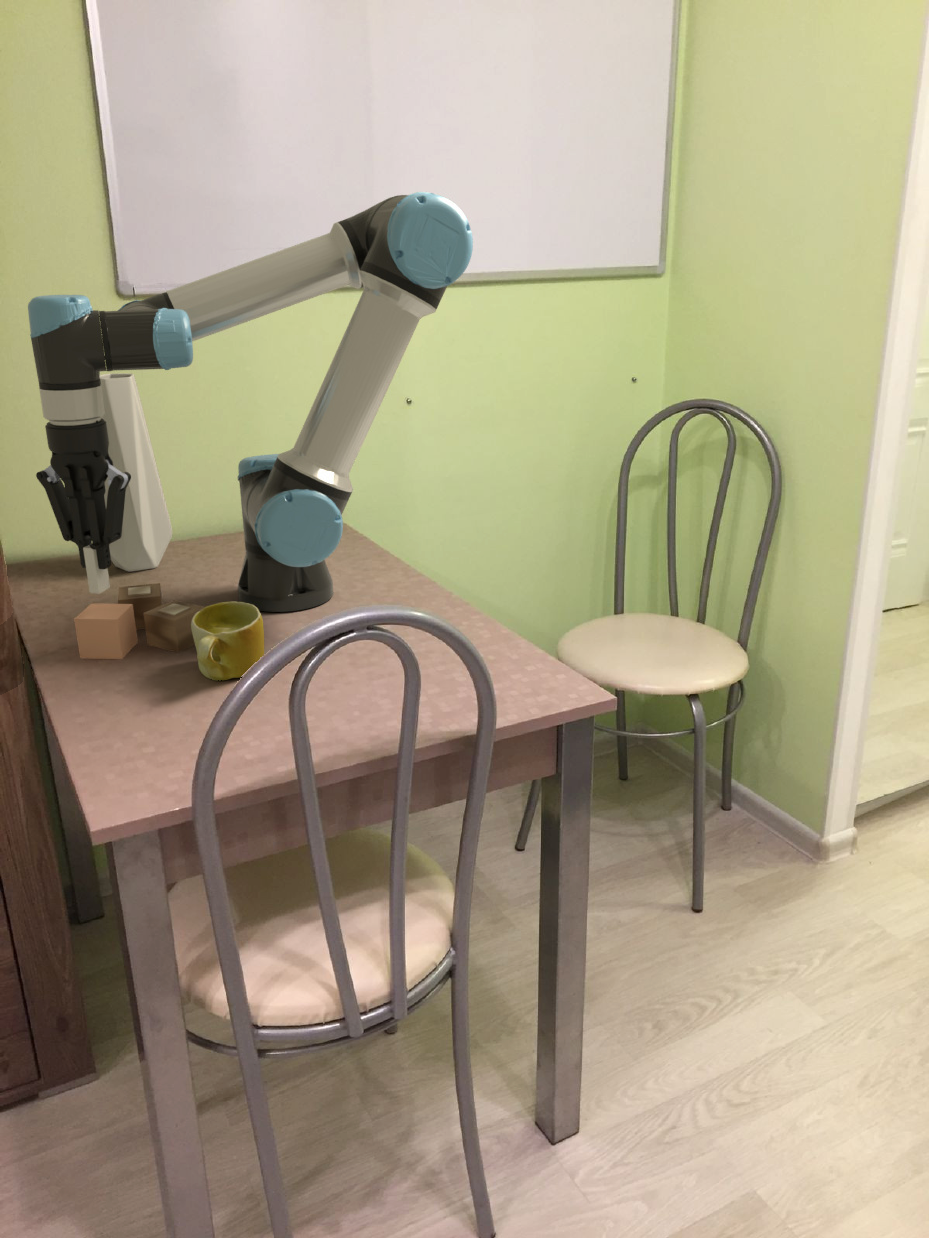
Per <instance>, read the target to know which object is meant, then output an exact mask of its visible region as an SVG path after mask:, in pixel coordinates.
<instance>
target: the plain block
mask: <svg viewBox="0 0 929 1238" xmlns="http://www.w3.org/2000/svg"><path fill="white" fill-rule="evenodd" d="M73 622H74V625H75V626H74V627H75V634H76V639H77V646H78V653H79V657H80V659H94V660H95V659H97V660H98V659H100V660H101V659H104V660H105V659H106V660H108V659H109V660H116V659H117V660H123V659H124V658H125V657H126V656H127V655H128V654H129V652H130V651H131V650H133V648H134V647H135V646H136V645H137V644H138V643H139V642H138V641H139V640H138V633H137V629H136V625H135V618H134V610H133V604H118V603H98V602H97V603H90V604H89V605H88V606H86V608H85V609H83V610H82V611H81V612H80V613H79V614H77V615H76V616H75V617H74V618H73Z"/></svg>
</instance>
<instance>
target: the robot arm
mask: <svg viewBox="0 0 929 1238" xmlns="http://www.w3.org/2000/svg"><path fill="white" fill-rule="evenodd" d="M473 240H474V239H473V232H472V230H471V225H470V223H469V220H468V219H467V216H466V215H465V214H464V212H463V210H462V209H461V208H460V207H459V206H458V205H457V204H456V203H455V202H453V201H452V200H450V199H448V198H446V197H444V196H442V195H439V194H435V193H433V192H427V191H419V192H418V191H417V192H414V193H411V194H400V195H394V196H392V197H388V198H386V199H384V200H383V201H380V202H378V203H375V204H374V205H372V206H371V207H369V208H367V209H365V210H363V211H361V212H358V213H356V214H355V215H352V216H350V217H348V218H345V219H343V220H340V221H337V222H335V223H333V225H332V228H331V229H330V232H328V233H326V234H322V235H319V236H317V237H315V238H314V237H313V238H312V239H309V240H306V241H304V242H301V243H298V244H295V245H291V246H290V247H287V248H284V249H281V250H278V251H276V252H272V253H270V254H267V255H264V256H261V257H259V258H255V259H254V260H253V259H252V260H250V261H247V262H244V263H242V264H239V265H237V266H233V267H230V268H227V269H224V270H222V271H219V272H216V273H214V274H211V275H208V276H206V277H205V276H204V277H203V278H200V279H198V280H194V281H191V282H189V283H185V284H183V285H180V286H177V287H175V288H172V289H169V290H166V291H165V292H162V293H159V294H156V295H152V296H150V297H148V298H145V299H141V300H140V299H135V300H132V301H129V302H127V303H125V304H123V305H121V307H120V308H119V309H118V310H108V311H107V310H106V311H105V310H99V309H97V310H94V309H93V306H92V304H91V300H90V299H89V297H87V295H84V294H50V295H49V294H48V295H39V296H34V297H33V298H31V300H29V302H28V304H27V311H28V322H29V330H30V334H29V335H30V339H31V341H30V342H31V345H32V346H31V347H32V352H33V358H34V359H33V360H34V363H35V371H36V376H37V382H38V389H39V394H40V395H39V396H40V400H41V401H40V402H41V403H40V404H41V409H42V417H43V418H44V419H45V420H46V421H48V422H47V423H46V424H45V426H44V427H45V433H46V434H45V435H46V440H47V445H48V450H49V451H50V452H51V457H50V460H49V461H50V462H49V464H50V465H49V466H47V467H46V468H45V469H42V470H40V471H38V472H37V473H36V474H35V477H36V478H37V480H38V482H39V484H41V486H42V487H43V488H44V490H45V493H46V496H47V499H48V501H49V504H50V507H51V509H52V512H53V514H54V517H55V520H56V522H57V525H58V529H59V530H60V532H61V533H60V534H61V535H62V538H63V540H64V541H66V542H73V543H75V545H76V546H77V548H78V554H79V560H80V565H81V567H82V569H85V571H86V577H87V583H88V590H89V593H90V594H96V595H97V594H99V595H101V593H104V592H105V591H106V590H108V589H110V588H111V583H110V576H109V569H108V568H111V566H112V560H111V556H110V549H109V544H111V543H113V542H114V541H116V540H118V539H120V538H121V536H122V525H123V514H124V503H125V493H126V488H127V486H128V484H129V482H130V480H131V475H130V474H129V473H128V472H125V473H122V472H120V471H119V470H118V469H116V468H115V467H113V461H112V459H111V458H110V456H109V454H108V447H109V439H108V432H107V424H106V421H104V419H102V418H100V417H102V416H103V415H104V414H105V411H104V404H103V396H102V389H101V380H100V375H101V373H100V372H115V371H141V370H165V371H169V370H171V369H179V368H187V367H190V366H191V364H192V363H193V360H194V349H193V348H194V347H193V346H194V345H193V342H195V341H197V340H200V339H203V338H207V337H209V336H212V335H214V334H216V333H220V332H223V331H226V330H228V329H230V328H234V327H236V326H239V325H242V324H244V323H248V322H250V321H252V320H256V319H258V318H260V317H264V316H267V315H269V314H270V315H271V313H275V312H277V311H281V310H283V309H286V308H289V307H291V306H294V305H297V304H300V303H303V302H305V301H308V300H311V299H313V298H316V297H319V296H322V295H325V294H327V293H330V292H333V291H335V290H339V289H341V288H344V287H346V286H347V287H348V286H350V287H352V288H355V289H356V290H359V289H362V288H363V291H362V293H361V296H360V298H359V300H358V302H357V304H356V306H355V308H354V309H355V310H354V311H353V313H352V316H351V318H350V319H349V322H348V325H347V327H346V328H345V331H344V334H343V336H342V337H341V340H340V342H339V345H338V348H337V349H336V351H335V353H334V356H333V358H332V361H331V363H330V365H329V368H328V370H327V371H326V374H325V377H324V379H323V381H322V383H321V385H320V387H319V390H318V392H317V393H316V396H315V398H314V401H313V403H312V405H311V407H310V410H309V413H308V414H307V417H306V419H305V421H304V423H303V425H302V428H301V430H300V431H299V435H298V436H297V439H296V441H295V443H294V446H293V447H292V448H291V449H290V450H285V451H284V452H281V453H272V454H262V455H254V456H249V457H245V458H243V459H241V460H240V461H239V462H238V468H237V469H238V475H237V481H239V489H240V490H239V491H240V493H239V494H240V503H241V514H242V515H241V516H242V527H243V536H244V537H243V538H244V548H245V555H244V559H243V564H242V567H241V571H240V575H239V579H238V584H237V593H238V594H237V597H238V602H244V603H249V604H252V605H254V606H256V607H257V608H258V610H259V612H260V611H261V612H267V613H270V612H272V613H278V612H279V613H286V612H287V613H288V612H297V611H303V610H307V609H311V608H315V607H318V606H320V605H322V604H324V603H327V602H328V601H329V600H330V599H332V598H333V595H334V584H333V583H334V581H333V578H332V575H331V573H330V570H329V567H328V565H327V564H326V559H327V558H329V557H330V556H331V555H332V554H333V553H334V552H335V550H336V549H337V548H338V546H339V544H340V542H341V540H342V539H341V538H342V536H343V531H344V530H343V529H344V527H343V526H344V521H343V513H344V511H345V509H346V506H347V504H348V502H349V500H350V498H351V496H352V494H353V491H354V487H353V485H352V482H351V479H350V472H351V470H352V468H353V467H354V463H355V461H356V459H357V457H358V455H359V452H360V450H361V449H362V446H363V444H364V442H365V440H366V438H367V435H368V433H369V431H370V429H371V426H372V425H373V422H374V420H375V418H376V415H377V413H378V412H379V409H380V407H381V405H382V403H383V401H384V398H385V397H386V394H387V392H388V389H389V387H390V385H391V383H392V381H393V378H394V377H395V374H396V372H397V370H398V368H399V366H400V364H401V361H402V359H403V357H404V354H405V353H406V350H407V348H408V346H409V343H410V341H411V339H412V337H413V335H414V333H415V331H416V329H417V327H418V325H419V322H420V321H421V319H422V318H425V317H426V316H429V315H431V314H434V313H436V311H437V309H438V308H439V305H440V302H441V300H442V299H443V297H444V294H445V292H446V290H447V288H448V286H450V285H452V284H453V283H455V282H456V281H457V280H458V279H459V278H460V277H461V276H462V275H463V274H464V272H465V271H466V270H467V268H468V266H469V263H470V262H471V258H472V254H473V251H474V250H473V249H474V248H473V247H474V245H473V244H474V241H473ZM107 477H109V479H108V482H107V483H108V485H110V486H109V489H108V494H107V506H106V505H105V498H104V494H105V492H106V490H105V481H106V479H107Z"/></svg>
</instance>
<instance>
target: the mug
mask: <svg viewBox="0 0 929 1238" xmlns="http://www.w3.org/2000/svg"><path fill="white" fill-rule="evenodd" d="M204 607H205V608H203V609H201V610H200V611H198V612H197V613H196V614H195V615H194V616H193V618H192V621H191V629H192V634H193V638H194V642H195V645H194V646H195V649H196V654H197V657H196V659H197V663H198V669H199V672H201V674H202V675H203V676H204V677H205V678H207V679H209V680H211V679H212V681H218V680H219V682H221V680H222V681H227V680H230V679H234V678H235V679H239V678H241V676H242V675H243V674H244V673H245V672H246V671H247V670H248V669H249V668H250V667H251V666H252V665H253V664H254V663H255V662H257V661H258V660H259V659H260V657H262V656H263V655H264V656H265V630H264V629H265V628H264V619H263V616H262V613H261V612H260V611H259V610H258V608H257V607H256V606H254V605H252V604H249V603H244V602H240V601H236V600H235V601H222V602H221V601H220V602H217V603H213V604H210V605H207V606H204Z"/></svg>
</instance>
